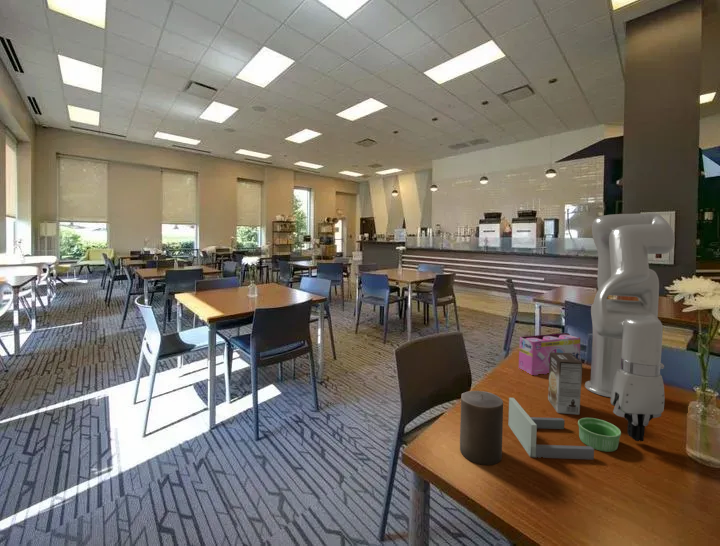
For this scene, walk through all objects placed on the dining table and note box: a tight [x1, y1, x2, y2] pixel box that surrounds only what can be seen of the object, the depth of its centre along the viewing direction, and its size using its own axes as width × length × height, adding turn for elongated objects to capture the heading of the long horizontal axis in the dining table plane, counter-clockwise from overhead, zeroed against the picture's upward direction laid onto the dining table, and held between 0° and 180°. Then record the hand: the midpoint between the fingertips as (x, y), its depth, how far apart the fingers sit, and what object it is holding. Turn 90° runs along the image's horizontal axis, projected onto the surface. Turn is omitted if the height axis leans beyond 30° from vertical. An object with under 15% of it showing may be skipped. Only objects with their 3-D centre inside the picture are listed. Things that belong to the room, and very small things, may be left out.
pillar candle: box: [459, 390, 504, 466], centre depth 82 cm, size 10×10×15 cm
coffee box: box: [547, 352, 583, 416], centre depth 104 cm, size 9×6×16 cm
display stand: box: [508, 397, 595, 460], centre depth 87 cm, size 14×14×8 cm
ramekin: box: [577, 417, 622, 453], centre depth 86 cm, size 9×9×4 cm
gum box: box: [518, 332, 581, 376], centre depth 136 cm, size 24×8×14 cm, turn 103°
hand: (635, 438), depth 85 cm, fingers closed
